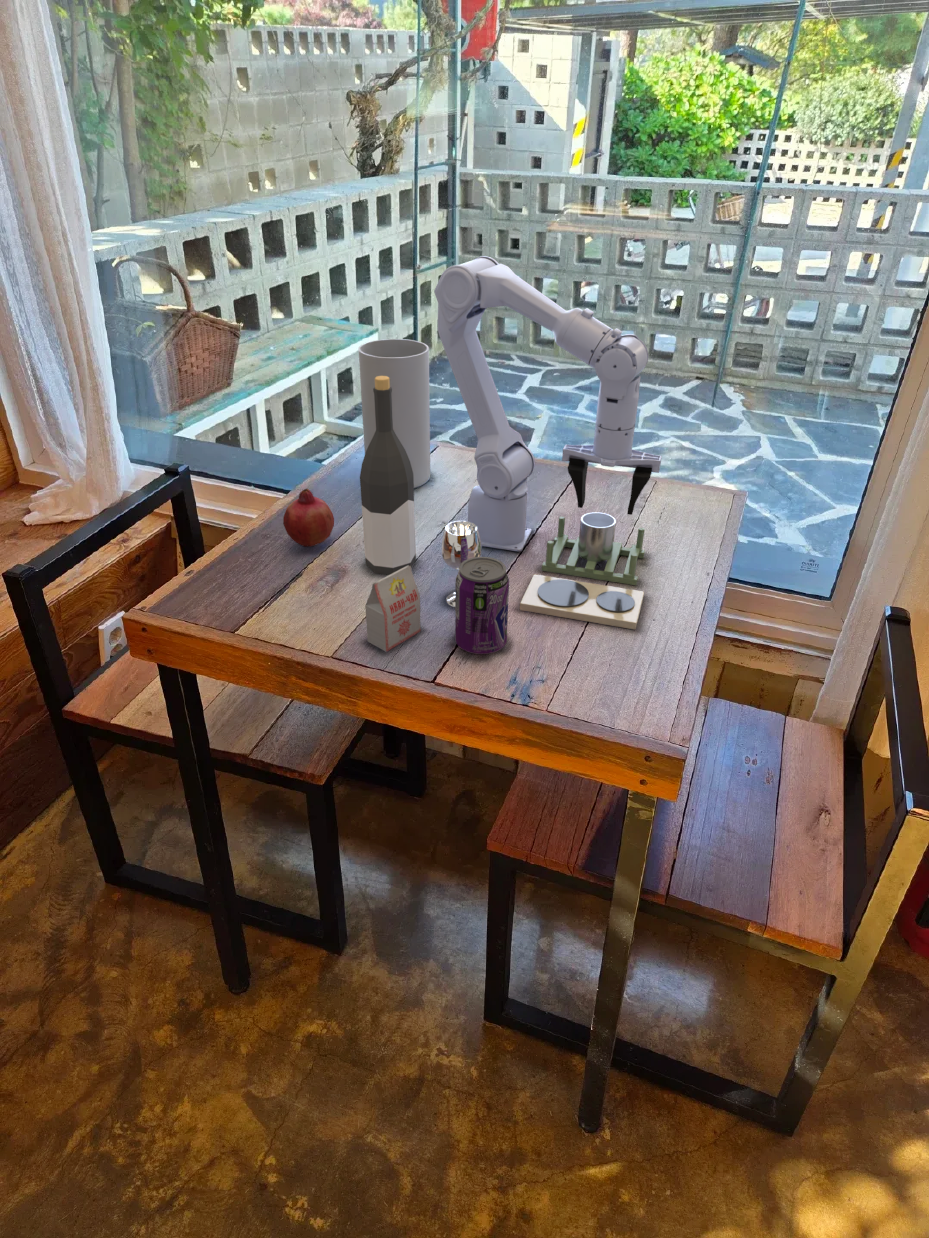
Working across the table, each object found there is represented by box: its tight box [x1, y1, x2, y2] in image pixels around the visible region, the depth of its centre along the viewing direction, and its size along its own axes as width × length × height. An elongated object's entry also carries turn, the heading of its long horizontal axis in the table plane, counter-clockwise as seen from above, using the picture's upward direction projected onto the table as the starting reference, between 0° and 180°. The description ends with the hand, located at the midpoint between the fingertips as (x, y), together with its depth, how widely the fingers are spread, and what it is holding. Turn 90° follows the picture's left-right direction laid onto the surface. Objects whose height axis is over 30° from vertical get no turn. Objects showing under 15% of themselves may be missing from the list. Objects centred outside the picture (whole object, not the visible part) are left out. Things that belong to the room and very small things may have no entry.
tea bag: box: [364, 565, 422, 652], centre depth 112 cm, size 4×7×10 cm, turn 139°
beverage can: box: [454, 556, 510, 655], centre depth 110 cm, size 7×7×12 cm
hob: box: [519, 573, 645, 631], centre depth 122 cm, size 17×9×2 cm, turn 73°
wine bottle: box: [359, 376, 417, 576], centre depth 124 cm, size 8×8×30 cm
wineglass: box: [441, 520, 483, 608], centre depth 120 cm, size 6×6×12 cm
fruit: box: [282, 488, 335, 548], centre depth 135 cm, size 8×8×10 cm
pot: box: [578, 511, 617, 563], centre depth 130 cm, size 6×6×6 cm
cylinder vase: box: [358, 338, 432, 489], centre depth 153 cm, size 12×12×25 cm
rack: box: [541, 516, 646, 586], centre depth 132 cm, size 15×10×5 cm
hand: (605, 508), depth 128 cm, fingers open, 7 cm apart
